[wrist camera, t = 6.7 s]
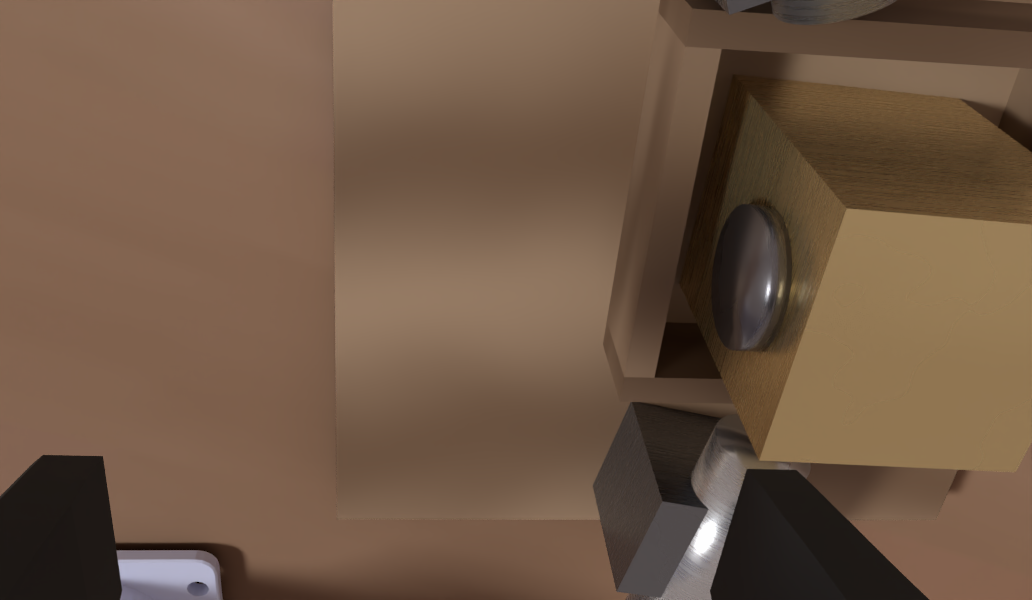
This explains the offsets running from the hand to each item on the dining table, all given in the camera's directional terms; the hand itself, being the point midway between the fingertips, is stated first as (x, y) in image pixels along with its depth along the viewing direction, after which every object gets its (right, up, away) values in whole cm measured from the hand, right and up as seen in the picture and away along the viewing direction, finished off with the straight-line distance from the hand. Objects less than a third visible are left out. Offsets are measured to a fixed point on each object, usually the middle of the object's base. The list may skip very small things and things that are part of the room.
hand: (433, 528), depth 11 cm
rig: (+5, +5, +9) cm, 11 cm away
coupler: (+7, +5, +8) cm, 12 cm away
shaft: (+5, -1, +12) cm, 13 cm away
